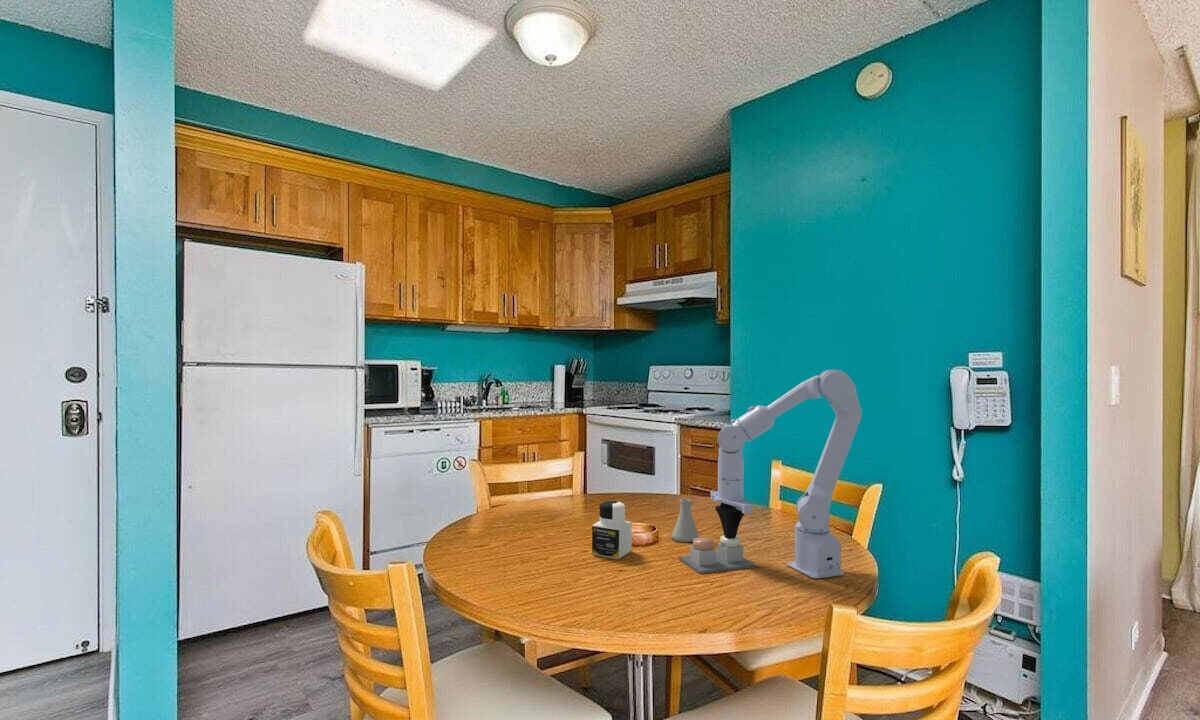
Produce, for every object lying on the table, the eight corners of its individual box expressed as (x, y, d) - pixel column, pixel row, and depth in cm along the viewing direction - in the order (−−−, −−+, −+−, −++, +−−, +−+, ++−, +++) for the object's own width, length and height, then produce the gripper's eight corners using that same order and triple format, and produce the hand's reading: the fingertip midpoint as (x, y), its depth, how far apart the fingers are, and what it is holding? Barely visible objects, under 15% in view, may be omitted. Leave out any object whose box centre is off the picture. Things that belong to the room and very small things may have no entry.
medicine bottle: (591, 555, 139) (591, 503, 139) (605, 546, 145) (605, 497, 145) (618, 559, 135) (619, 507, 136) (631, 551, 142) (632, 501, 142)
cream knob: (744, 559, 133) (744, 539, 134) (726, 561, 132) (727, 541, 132) (733, 553, 138) (733, 534, 138) (716, 555, 136) (716, 535, 136)
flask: (698, 535, 156) (699, 497, 156) (700, 543, 148) (700, 503, 148) (670, 534, 156) (671, 496, 156) (671, 542, 149) (671, 502, 149)
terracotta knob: (716, 562, 131) (716, 542, 131) (698, 564, 130) (699, 544, 130) (706, 556, 135) (706, 536, 135) (689, 558, 134) (689, 538, 134)
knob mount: (756, 567, 131) (756, 549, 131) (699, 573, 127) (700, 556, 127) (731, 553, 141) (731, 537, 141) (678, 559, 136) (678, 542, 136)
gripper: (699, 473, 141) (699, 530, 140) (732, 485, 127) (732, 549, 127) (725, 472, 143) (725, 528, 143) (760, 483, 129) (760, 546, 129)
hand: (730, 538), depth 135 cm, fingers closed, pressing on cream knob
